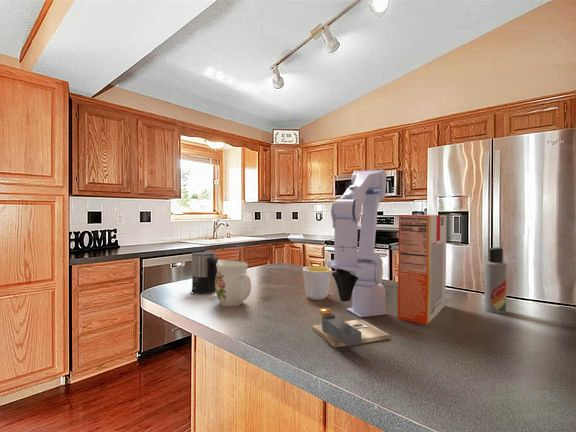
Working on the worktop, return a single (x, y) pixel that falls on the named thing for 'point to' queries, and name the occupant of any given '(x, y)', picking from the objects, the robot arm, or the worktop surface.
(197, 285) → the milk frother
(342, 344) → the tan piece
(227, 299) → the pitcher
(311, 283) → the mug
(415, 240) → the cereal box
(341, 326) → the swing bar
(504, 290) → the lotion bottle
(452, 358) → the worktop surface
